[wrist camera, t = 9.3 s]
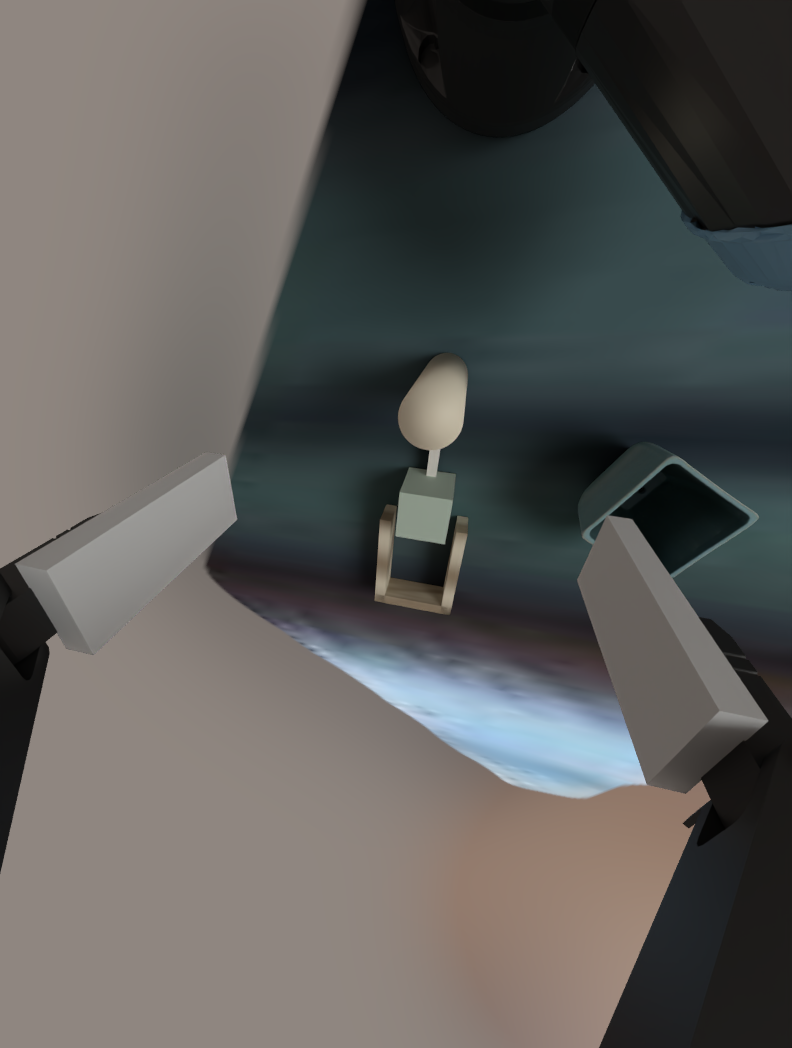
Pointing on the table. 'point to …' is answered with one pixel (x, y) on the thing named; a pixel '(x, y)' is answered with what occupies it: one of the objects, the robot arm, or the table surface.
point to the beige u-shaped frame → (412, 591)
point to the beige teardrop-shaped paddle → (431, 447)
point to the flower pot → (664, 506)
